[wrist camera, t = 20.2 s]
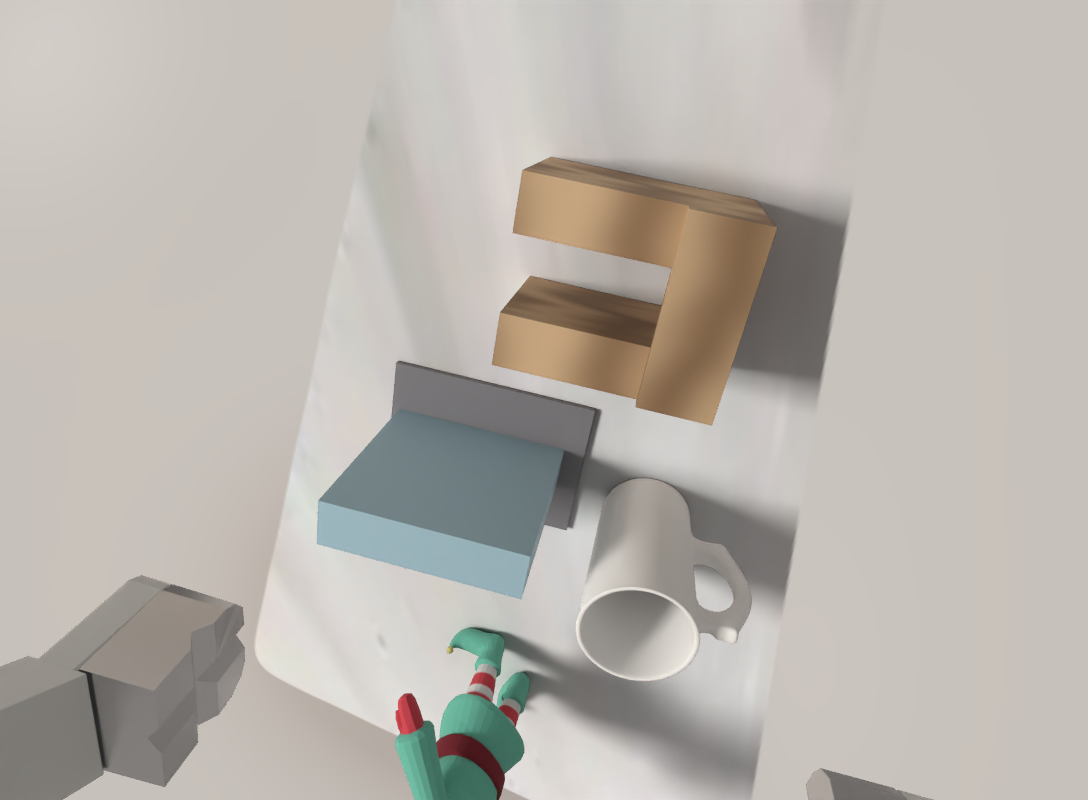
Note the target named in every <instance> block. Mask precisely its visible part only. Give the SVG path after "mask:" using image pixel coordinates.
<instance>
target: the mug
mask: <svg viewBox="0 0 1088 800" xmlns="http://www.w3.org/2000/svg"><path fill="white" fill-rule="evenodd" d="M694 565H704V566H709V567H711V568H713V569H715V570H716V571H718V572H719V573H720V574H722V575H723V576H724V577H725V579H726V580H727V581H728V583H729V585H730V587H731V589H732V592H733V597H734V601H733V604H732V605H731V607H730V608H728V609H727V610H725V611H721V612H713V611H709V610H706V609H704V608H703V607H701V606H700V605H699V603H698V601H697V598H696V591H695V578H694ZM751 604H752V597H751V591H750V588H749V585H748V583H747V580H746V578H745V577H744V575H743V573H742V571H741V570H740V568H739V567H738V565H737V564H736V562H735V561H734V560H733V558H732V557H731V555H730V554H729V552H728V551H727V549H726V548H725V547H724V546H723V545H721V544H717V543H709V542H705V541H701V540H699V539H696V538H695V537H694V536H693V534H692V532H691V525H690V514H689V509H688V506H687V504H686V502H685V500H684V498H683V497H682V496H681V494H680V493H679V492H678V491H677V490H676V489H674V488H673V487H671V486H670V485H668V484H666V483H664V482H662V481H659V480H655V479H649V478H638V479H632V480H628V481H626V482H623V483H621V484H619V485H618V486H616V487H615V488H614V489H613V490H612V491H611V492H610V493H609V494H608V495H607V497H606V499H605V501H604V503H603V506H602V511H601V515H600V519H599V523H598V527H597V532H596V537H595V541H594V546H593V551H592V555H591V560H590V564H589V569H588V573H587V578H586V582H585V587H584V591H583V596H582V601H581V607H580V613H579V615H578V618H577V622H576V635H577V639H578V642H579V644H580V647H581V648H582V650H583V652H584V653H585V654H586V656H587V657H588V658H589V659H590V660H591V661H592V662H593V663H594V664H596V665H597V666H598V667H600V668H601V669H603V670H604V671H606V672H608V673H610V674H612V675H615V676H618V677H621V678H624V679H628V680H635V681H655V680H660V679H664V678H668V677H670V676H673V675H675V674H677V673H679V672H680V671H682V670H683V669H685V668H686V667H687V666H688V665H689V664H690V663H691V662H692V661H693V659H694V658H695V656H696V654H697V652H698V649H699V644H700V636H699V633H709V634H711V635H713V636H714V637H715V638H716V639H718V640H721V641H726V642H729V643H736V642H737V639H738V633H739V631H740V630H741V628H742V626H743V625H744V623H745V622H746V620H747V618H748V615H749V613H750V609H751Z"/></svg>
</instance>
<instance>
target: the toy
mask: <svg viewBox="0 0 1088 800" xmlns="http://www.w3.org/2000/svg"><path fill="white" fill-rule="evenodd" d="M453 648H460V649H463V650H466V651H469V652H471V653H473V654H475V655H478V656H479V658H478V659H477V661H476V663H475V669H476V673H475V675H474V677H473V679H472V682H471V684H470V686H469V688H468V690H467V692H466V694H461V695H458V696H456V697H455V698H454V699H453V700H451V701H450V702H449V704H448V706H447V708H446V710H445V711H444V713H443V717H442V721H441V727H440V738H439V740H438V741H437V743H436V738H435V731H434V725H433V724H432V722H430V721H423V719H422V715H421V712H420V709H419V707H418V704H417V702H416V699H415V697H414V696H413V695H412V693H407V694H404V695H403V696H402V697H401V698H400V699H399V701H398V709H399V710H397V711H396V721H397V725H398V729H399V731H400V734H399V736H398V737H397V738H396V741H395V746H396V750H397V752H398V755H399V758H400V760H401V763H402V766H403V768H404V771H405V774H406V777H407V780H408V782H409V785H410V788H411V791H412V794H413V796H414V799H415V800H499V798H500V796H501V793H502V789H503V785H504V782H505V775H504V774H505V773H506V772H507V771H508V770H509V769H511V768H512V767H513V766H514V765H515V764H516V763H518V762H519V761H520V760H521V758H522V756H523V754H524V744H523V740H522V738H521V736H520V734H519V733H518V731H517V730H516V728H515V727H516V723H517V720H518V717H519V714H521V713H522V712H523V711H524V708H525V703H526V698H527V695H528V692H529V688H530V680H529V677H528V676H527V675H526V674H525V673H522V672H518V673H515V674H514V675H512V676H511V677H510V678H509V680H508V681H507V682H506V683H505V684H504V685H503V687H502V688H501V690H500V693H499V696H498V701H497V706H495V705H494V704H493V703H492V700H493V694H494V688H495V682H496V677H498V676H499V675H500V672H501V660H502V656H503V652H504V639H503V638H502V637H501V636H500V635H498V634H493V633H485V632H483V631H480V630H477V629H473V628H466V629H464V630H461V631H460V632H459V633H457V634H456V635H455V637H454V638H453V639H452V641H451V643H450V646H449V647H448V648H447V653H449V654H450V653H452V652H453Z"/></svg>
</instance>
